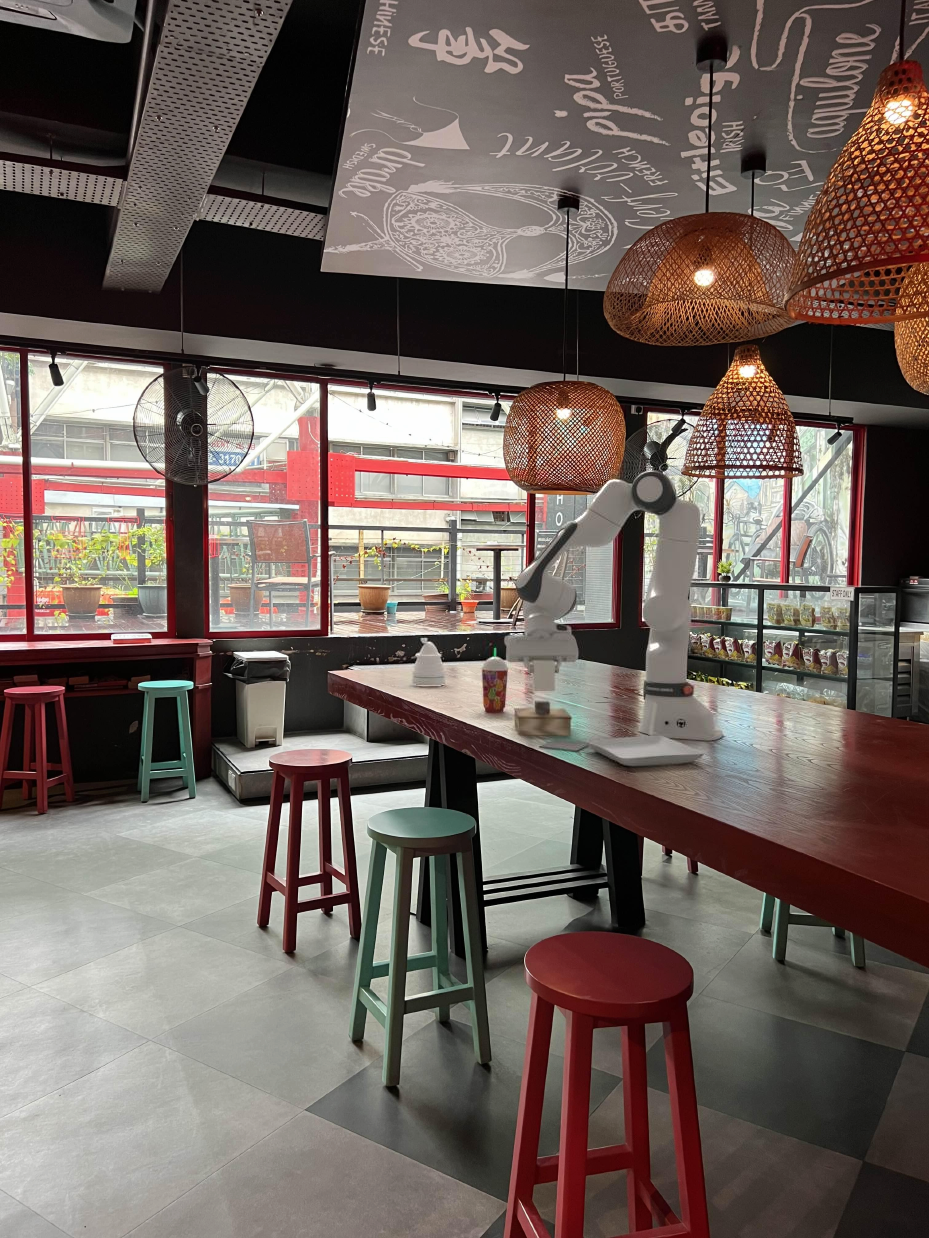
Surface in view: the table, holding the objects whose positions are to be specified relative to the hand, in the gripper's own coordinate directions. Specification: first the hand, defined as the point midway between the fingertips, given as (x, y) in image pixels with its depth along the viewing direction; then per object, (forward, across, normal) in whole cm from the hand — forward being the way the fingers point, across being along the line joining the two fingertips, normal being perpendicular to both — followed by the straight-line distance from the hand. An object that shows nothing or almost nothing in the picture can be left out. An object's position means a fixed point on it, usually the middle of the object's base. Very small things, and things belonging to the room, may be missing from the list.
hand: (543, 671), depth 237 cm
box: (+11, 0, +12) cm, 16 cm away
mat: (+26, +3, -3) cm, 27 cm away
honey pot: (-57, -34, +79) cm, 104 cm away
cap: (+3, 0, +4) cm, 5 cm away
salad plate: (+36, +20, -12) cm, 43 cm away
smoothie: (-12, -12, +35) cm, 39 cm away
